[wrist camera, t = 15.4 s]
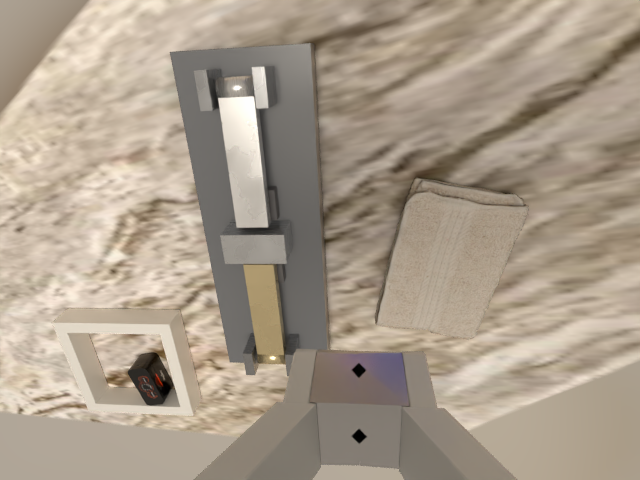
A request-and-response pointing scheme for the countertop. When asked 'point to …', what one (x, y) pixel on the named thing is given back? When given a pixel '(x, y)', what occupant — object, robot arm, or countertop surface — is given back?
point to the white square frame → (161, 322)
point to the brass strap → (266, 312)
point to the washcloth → (448, 257)
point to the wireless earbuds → (151, 379)
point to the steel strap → (244, 150)
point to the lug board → (282, 183)
